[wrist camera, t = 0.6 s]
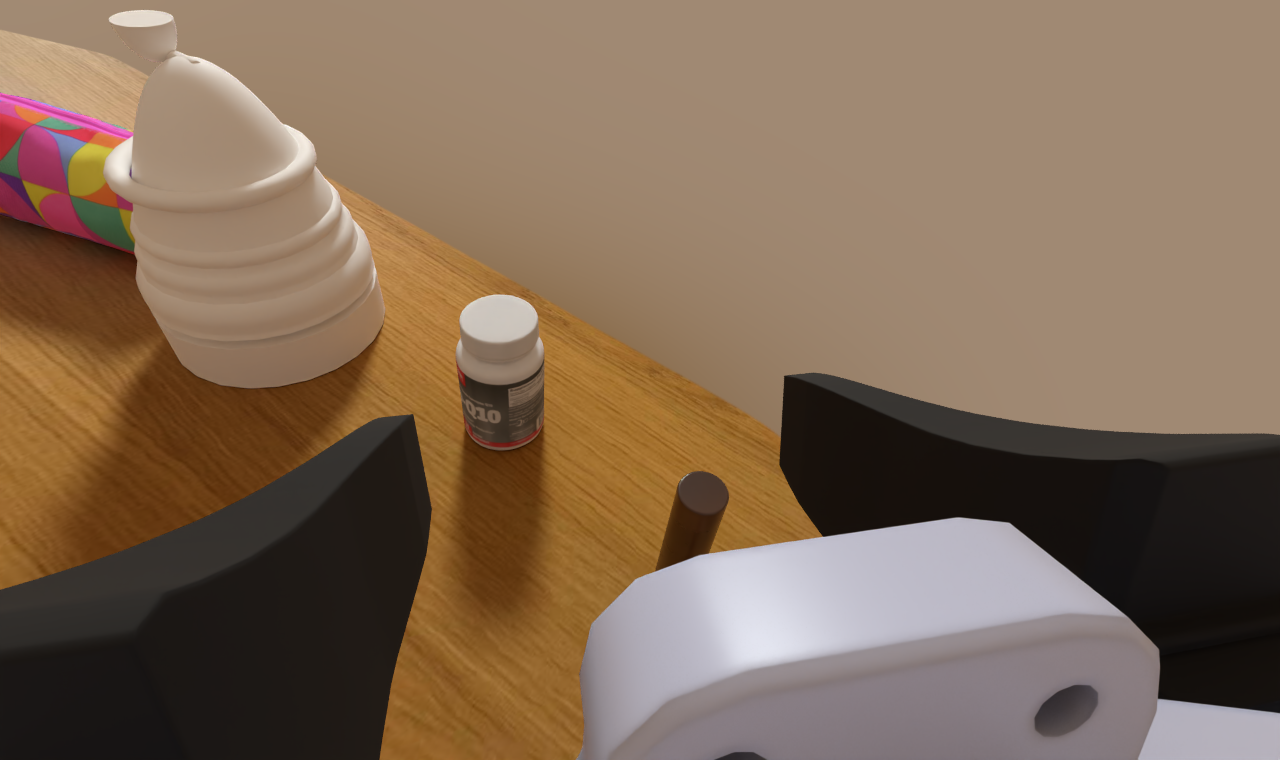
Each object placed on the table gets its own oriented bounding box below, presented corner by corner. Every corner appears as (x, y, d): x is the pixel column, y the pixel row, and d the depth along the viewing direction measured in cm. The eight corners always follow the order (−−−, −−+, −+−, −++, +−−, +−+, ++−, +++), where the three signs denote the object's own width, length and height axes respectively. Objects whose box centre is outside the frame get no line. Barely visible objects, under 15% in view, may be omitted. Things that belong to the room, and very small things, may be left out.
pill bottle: (449, 421, 37) (430, 314, 31) (509, 383, 40) (503, 278, 34) (499, 466, 35) (490, 362, 29) (560, 423, 38) (562, 320, 32)
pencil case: (277, 223, 49) (238, 110, 43) (191, 289, 43) (129, 167, 36) (39, 168, 51) (-33, 52, 45) (-79, 223, 44) (-183, 96, 38)
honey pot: (125, 338, 39) (-79, 24, 26) (291, 246, 47) (198, -24, 35) (275, 418, 36) (126, 106, 23) (424, 304, 44) (375, 31, 32)
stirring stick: (691, 622, 30) (736, 510, 23) (651, 629, 29) (685, 517, 22) (680, 584, 31) (719, 467, 24) (642, 591, 31) (671, 473, 24)
